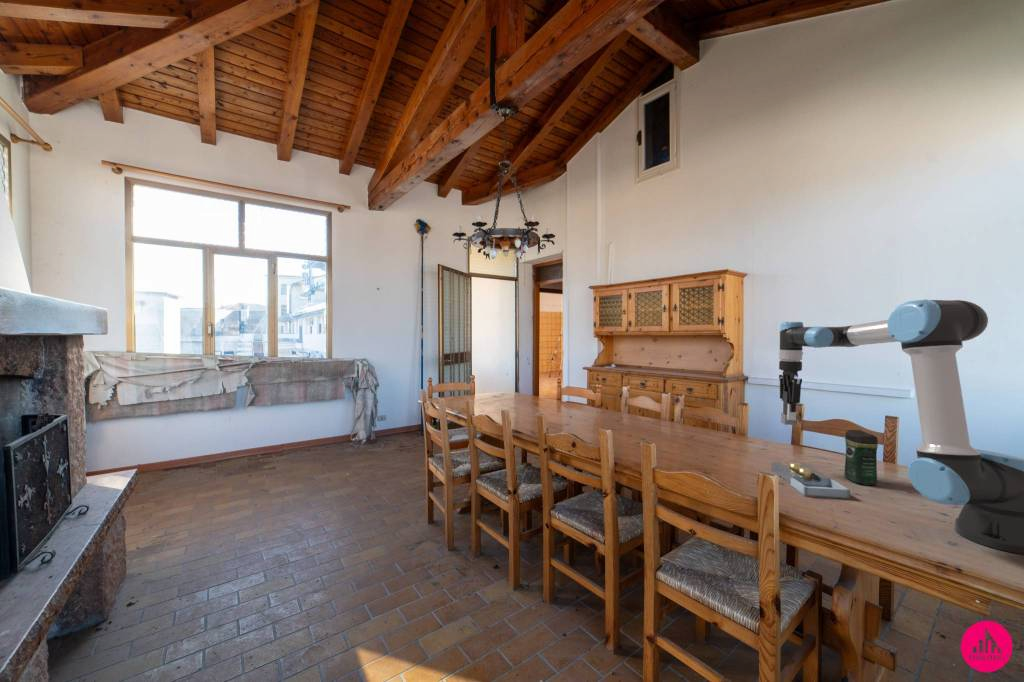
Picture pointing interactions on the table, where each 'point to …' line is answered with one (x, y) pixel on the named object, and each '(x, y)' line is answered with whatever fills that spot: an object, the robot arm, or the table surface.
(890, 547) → the table surface
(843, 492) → the tray
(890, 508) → the table surface
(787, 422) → the stepped gray block
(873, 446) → the coffee jar
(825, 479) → the slot board
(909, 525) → the table surface
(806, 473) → the gold dome knob
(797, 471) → the brass round knob
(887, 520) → the table surface
